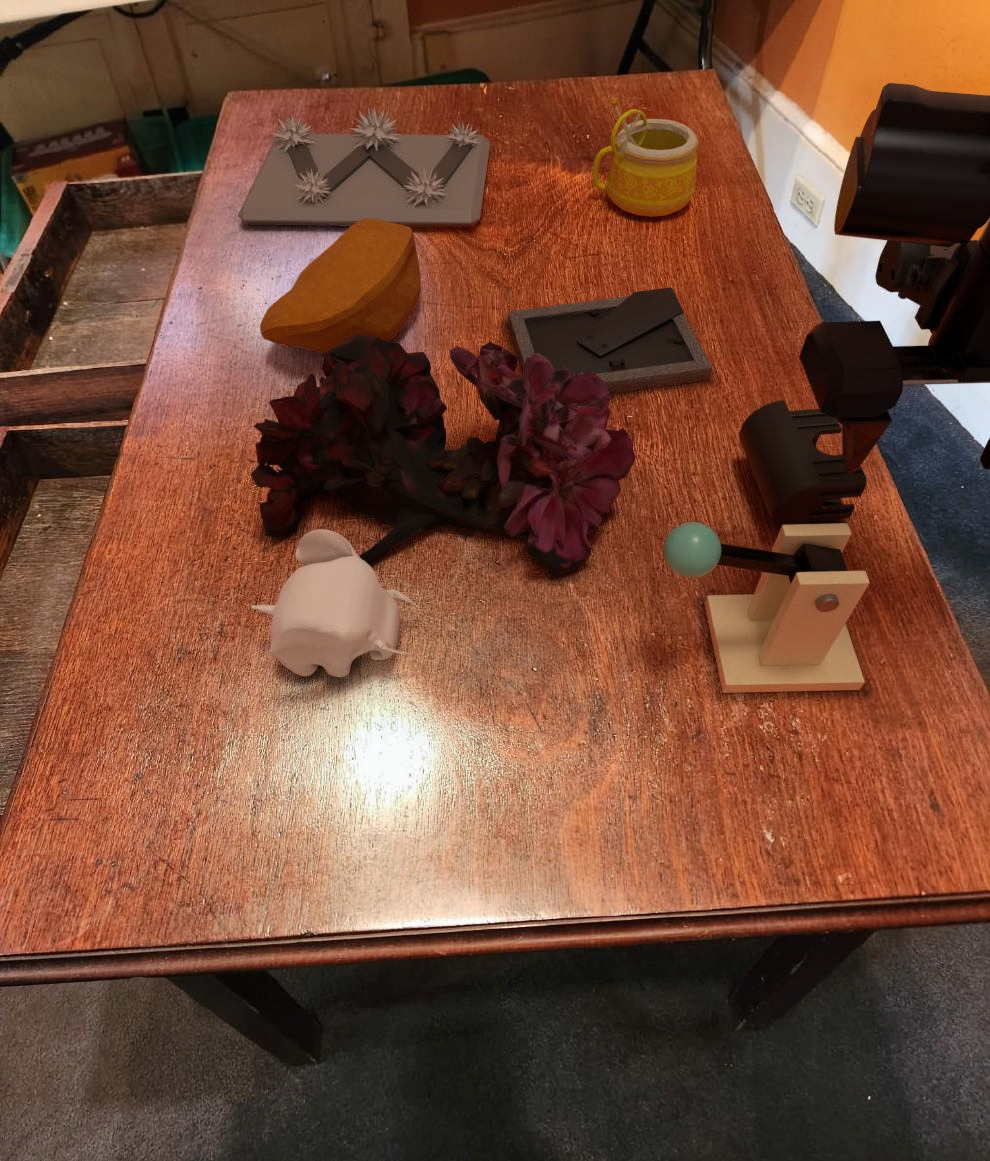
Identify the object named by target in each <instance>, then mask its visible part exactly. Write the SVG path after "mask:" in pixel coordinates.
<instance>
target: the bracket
mask: <svg viewBox="0 0 990 1161" xmlns="http://www.w3.org/2000/svg"><path fill="white" fill-rule="evenodd" d="M851 536H852V531H851V528H850V526H849V524H848V522H847V523H846V522H845V523H844V522H843V523H838V524H795V525H782V527H781V529H780V530H779V532H778V535H777V537H776V539H775V541H774V543H773V547H772V549H771V552H777V553H784V554H790V555H794V554H795V552H796V551H797V550H798V549H799V548H800V547H801V546H802V545H803V544H804V543H806V544H812V545H818V546H824V547H830V548H836V549H840V550H841V552H842V553H843V551H844V549H845V548H846V546H847V544H848V542H849V540H850V538H851ZM869 585H870V579H869V576H868V573H867V571H866V570H848V571H831V572H797V573H796V575H795V577H794V579H793V581H792V583H791V584H790V580H789V577H788V576H785V575H779V574H772V573H766V572H761V576H760V578H759V581H758V583H757V586H756V588H755V590H754V593H753V594H752V593H751V594H750V593H749V594H747V593H745V594H708V595H706V598H705V600H704V609H705V614H706V618H707V619H706V620H707V623H708V624H707V625H708V628H709V633H710V638H711V642H712V647H713V653H714V657H715V662H716V667H717V671H718V677H719V682H720V687H721V691H722V693H723V694H728V693H733V694H734V693H776V692H777V693H778V692H779V693H780V692H781V693H782V692H823V691H824V692H826V691H828V692H829V691H830V692H831V691H859V690H861V688H862V687H863V686H864V684H865V682H866V680H865V678H864V675H863V672H862V669H861V666H860V663H859V660H858V657H857V654H856V651H855V648H854V645H853V641H852V639H851V636H850V633H849V629H848V627H847V624H846V623H847V622H848V620H849V618H850V616H851V615H852V613H853V611H854V610H855V608H856V606H857V605H858V604H859V602H860V600H861V598H862V597H863V595H864V593H865V592H866V590H867V589H868V586H869Z"/></svg>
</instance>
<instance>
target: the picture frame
mask: <svg viewBox="0 0 990 1161" xmlns="http://www.w3.org/2000/svg"><path fill="white" fill-rule="evenodd" d="M507 324H508V328H509V330H510V335H511V337H512V341H513V343H514V347H515V350H516V353H517V356H518V361H519V362H520V367H521V370H522V372H523V371H524V366H525V362H526V358H529V357H532V356H533V355H531V354H537V353H539V354H541V355H542V356H543V357H545V358H546V359H548V360H549V361H550V363H551V364H552V366H553V368H554V369H555V371H559V370H561V369H562V368H564V367H565V366H567V368H568V371H569V373H570V375H571V376H573V373H574V374H575V375H576V374H579V373H583V372H587V371H591V372H593V373H594V374H596V375H597V376H598V377H600V378H601V379H602V380H603V381H604V383H605V385H606V387H607V389H608V391H609V394H610V395H613V394H620V393H626V392H635V391H642V390H650V389H657V388H663V387H670V386H671V387H672V386H677V385H678V386H679V385H685V384H691V383H698V382H699V383H700V382H707V381H708V382H709V381H710V380H711V375H712V372H713V366H712V363H711V362H710V360H709V358H708V356H707V354H706V352H705V351H704V349H703V347H702V345H701V343H700V341H699V339H698V338H697V336H696V334H695V332H694V330H693V329H692V327H691V325H690V323H689V321H688V319H687V317H686V315H685V314H684V309H683V307H682V305H681V302H680V301H679V299H678V297H677V295H676V293H675V291H674V288H673V287H663V288H656V289H655V288H654V289H647V290H639V291H634V292H633V293H631V294H630V295H627V296H619V297H611V298H603V299H596V300H588V301H580V302H572V303H563V304H555V305H548V306H540V307H533V308H525V309H519V310H518V309H517V310H510V311H507Z"/></svg>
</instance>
